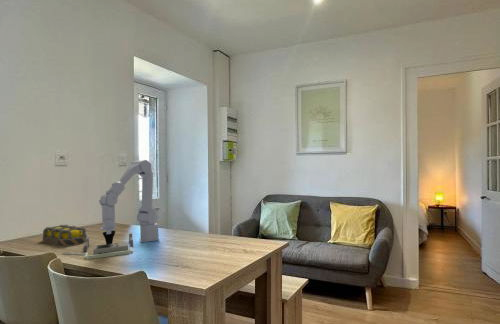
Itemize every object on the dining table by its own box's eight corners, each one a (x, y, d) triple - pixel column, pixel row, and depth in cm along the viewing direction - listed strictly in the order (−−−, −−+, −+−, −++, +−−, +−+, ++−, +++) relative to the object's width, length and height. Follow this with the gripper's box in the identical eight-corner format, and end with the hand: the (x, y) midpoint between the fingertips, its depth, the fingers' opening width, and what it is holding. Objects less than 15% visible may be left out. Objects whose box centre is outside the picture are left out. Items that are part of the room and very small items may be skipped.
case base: (132, 241, 174) (132, 232, 174) (133, 246, 162) (133, 237, 162) (85, 246, 165) (85, 237, 165) (83, 252, 153) (83, 242, 153)
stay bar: (65, 254, 152) (65, 252, 152) (86, 255, 149) (86, 253, 149) (62, 255, 150) (62, 253, 150) (84, 256, 148) (84, 253, 148)
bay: (131, 249, 156) (131, 246, 156) (132, 253, 148) (132, 250, 148) (85, 254, 148) (85, 251, 148) (84, 259, 140) (84, 256, 140)
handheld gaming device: (128, 253, 150) (127, 245, 150) (93, 257, 144) (93, 249, 144) (127, 249, 158) (127, 241, 158) (94, 253, 152) (94, 245, 152)
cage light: (64, 223, 194) (91, 227, 177) (64, 236, 194) (92, 241, 177) (37, 227, 181) (64, 232, 165) (37, 241, 181) (65, 247, 165)
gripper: (100, 217, 161) (100, 244, 161) (99, 221, 148) (99, 250, 147) (115, 216, 164) (115, 242, 164) (115, 220, 151) (116, 248, 150)
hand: (109, 246), depth 156 cm, fingers closed
